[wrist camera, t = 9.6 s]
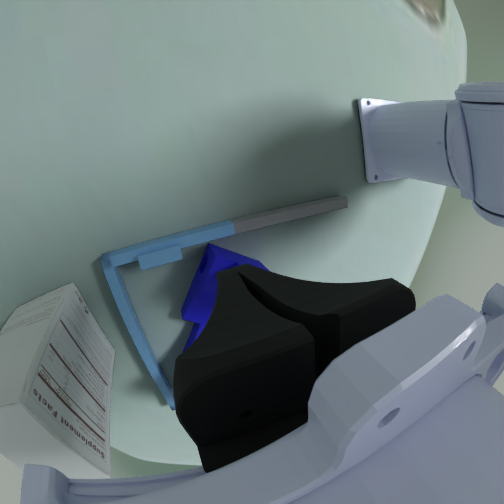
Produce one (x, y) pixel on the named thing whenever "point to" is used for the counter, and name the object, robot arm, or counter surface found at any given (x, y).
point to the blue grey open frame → (170, 252)
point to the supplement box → (56, 386)
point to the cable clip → (209, 286)
